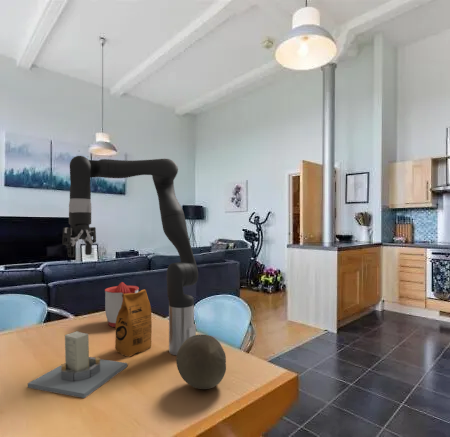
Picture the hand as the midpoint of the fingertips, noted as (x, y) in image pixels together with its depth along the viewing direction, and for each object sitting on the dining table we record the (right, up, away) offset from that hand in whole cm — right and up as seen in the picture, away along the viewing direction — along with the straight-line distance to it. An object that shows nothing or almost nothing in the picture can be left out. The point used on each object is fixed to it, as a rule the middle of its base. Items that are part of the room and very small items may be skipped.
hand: (80, 255), depth 116 cm
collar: (+8, -35, -17) cm, 39 cm away
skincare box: (+7, -35, -17) cm, 40 cm away
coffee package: (+18, -36, +4) cm, 41 cm away
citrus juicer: (+4, -37, +35) cm, 51 cm away
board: (+8, -36, -17) cm, 40 cm away
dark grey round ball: (+46, -36, -24) cm, 63 cm away
